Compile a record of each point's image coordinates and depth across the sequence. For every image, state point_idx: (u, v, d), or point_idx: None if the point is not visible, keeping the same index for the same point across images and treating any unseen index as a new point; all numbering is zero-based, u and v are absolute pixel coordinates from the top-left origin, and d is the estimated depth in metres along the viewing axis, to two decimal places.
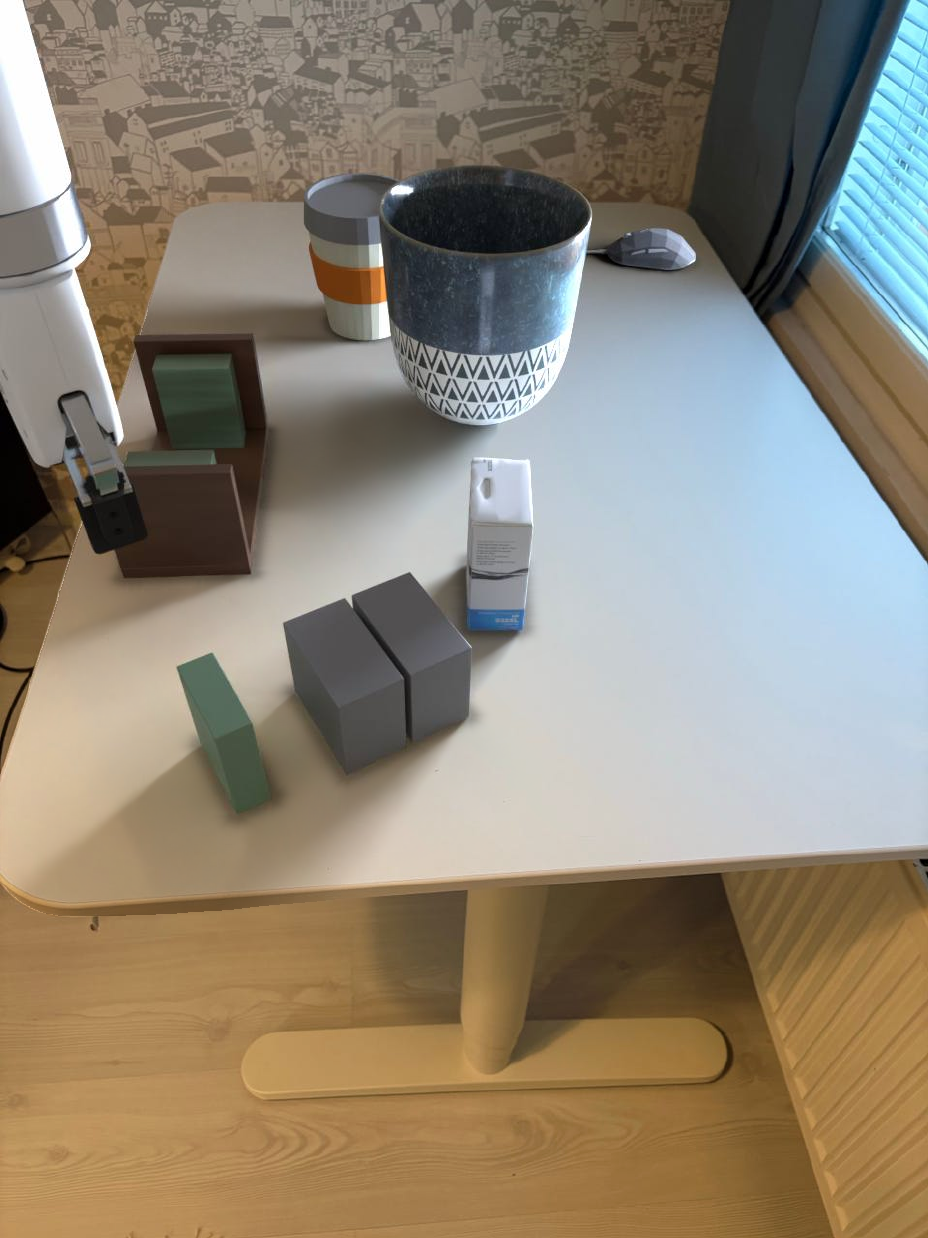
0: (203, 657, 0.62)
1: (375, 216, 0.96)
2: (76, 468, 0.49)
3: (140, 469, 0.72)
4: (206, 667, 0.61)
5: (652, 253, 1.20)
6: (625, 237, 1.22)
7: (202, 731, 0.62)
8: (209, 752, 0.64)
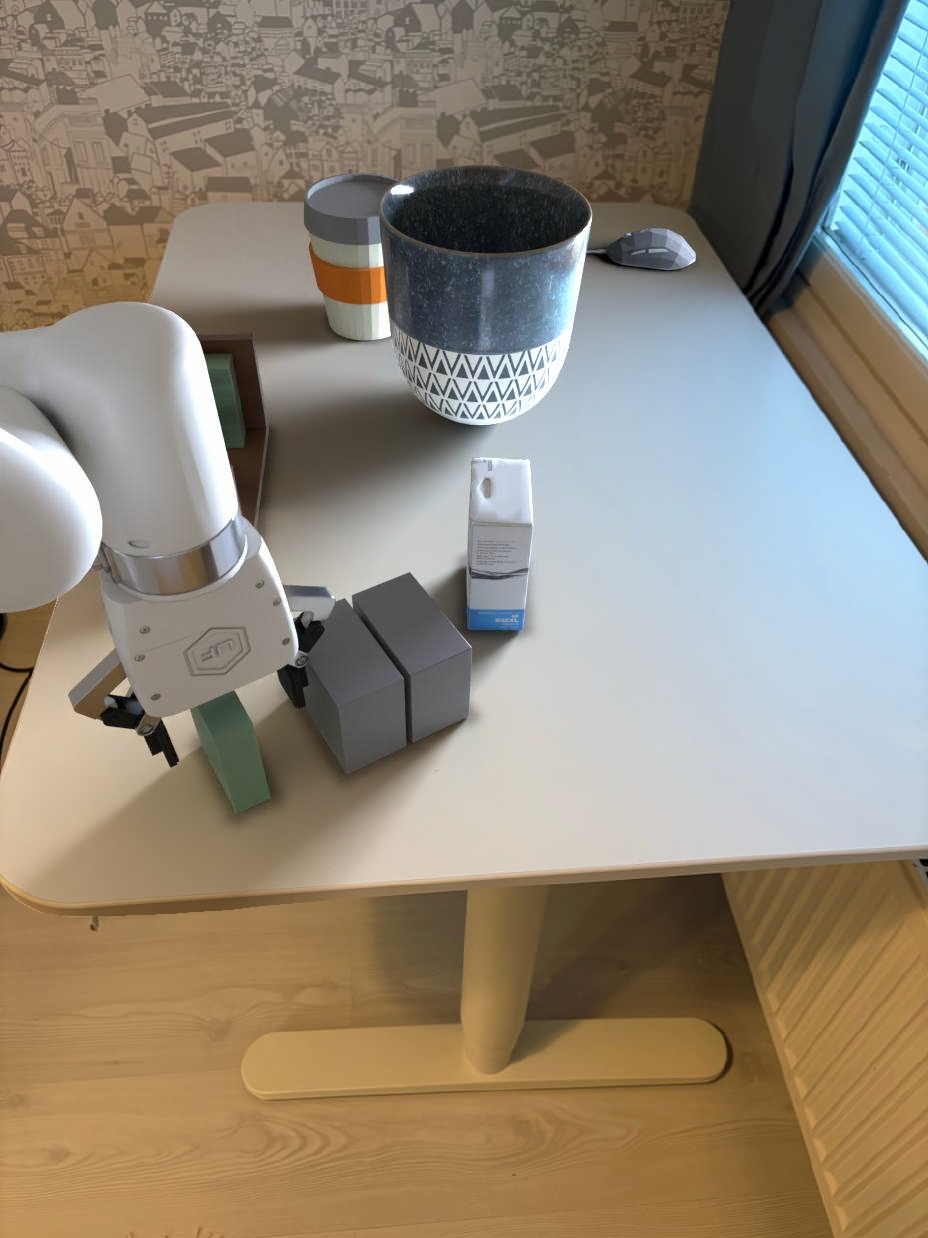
0: None
1: (375, 216, 0.96)
2: None
3: None
4: None
5: (652, 253, 1.20)
6: (625, 237, 1.22)
7: (202, 731, 0.62)
8: (209, 752, 0.64)
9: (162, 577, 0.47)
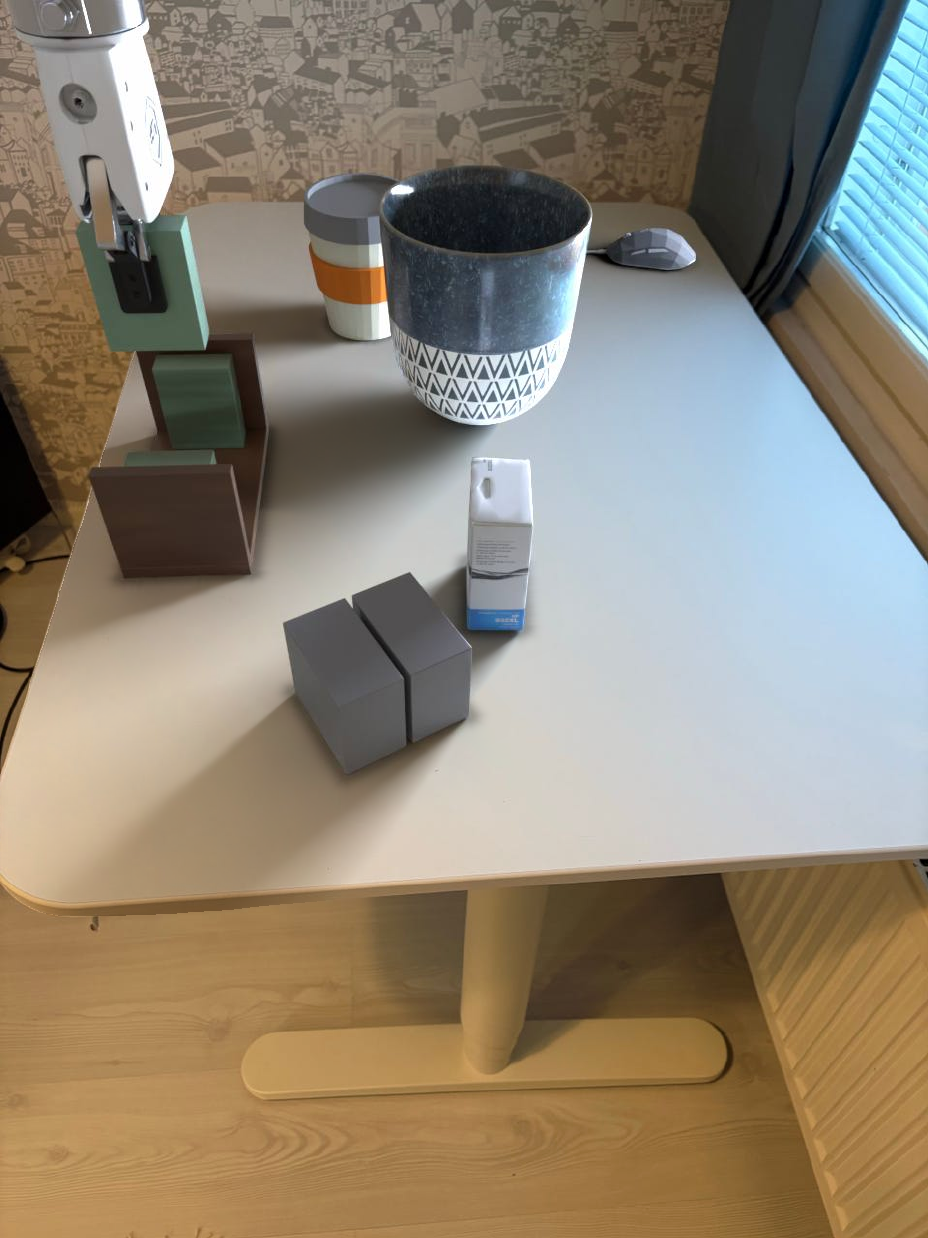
0: None
1: (375, 216, 0.96)
2: None
3: (140, 469, 0.72)
4: None
5: (652, 253, 1.20)
6: (625, 237, 1.22)
7: None
8: (144, 315, 0.66)
9: (128, 1, 0.52)
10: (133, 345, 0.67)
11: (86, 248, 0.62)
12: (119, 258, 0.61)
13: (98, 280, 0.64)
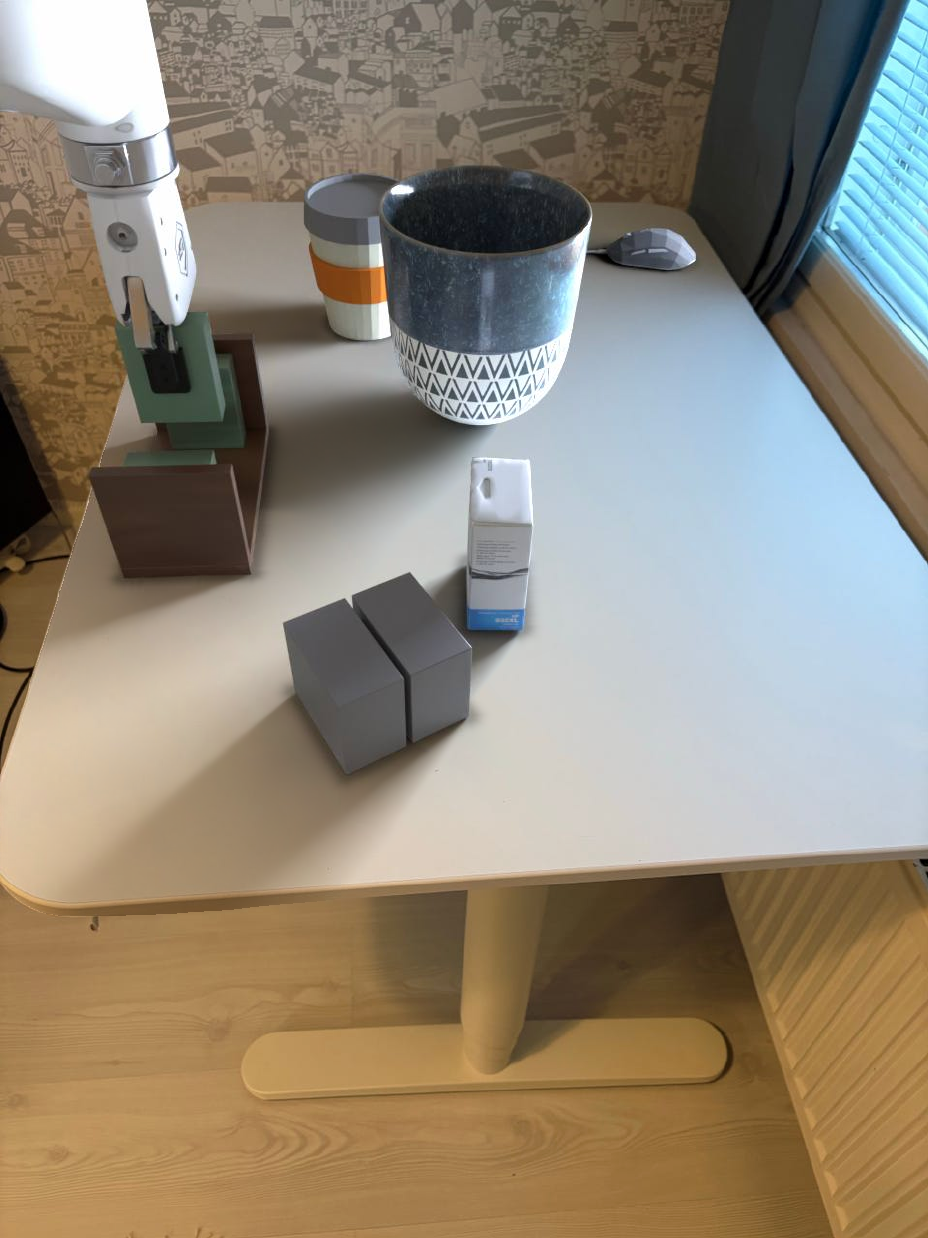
0: None
1: (375, 216, 0.96)
2: None
3: (140, 469, 0.72)
4: None
5: (652, 253, 1.20)
6: (625, 237, 1.22)
7: None
8: (171, 394, 0.77)
9: (163, 154, 0.63)
10: (161, 418, 0.79)
11: (123, 341, 0.73)
12: (152, 352, 0.72)
13: (132, 366, 0.75)
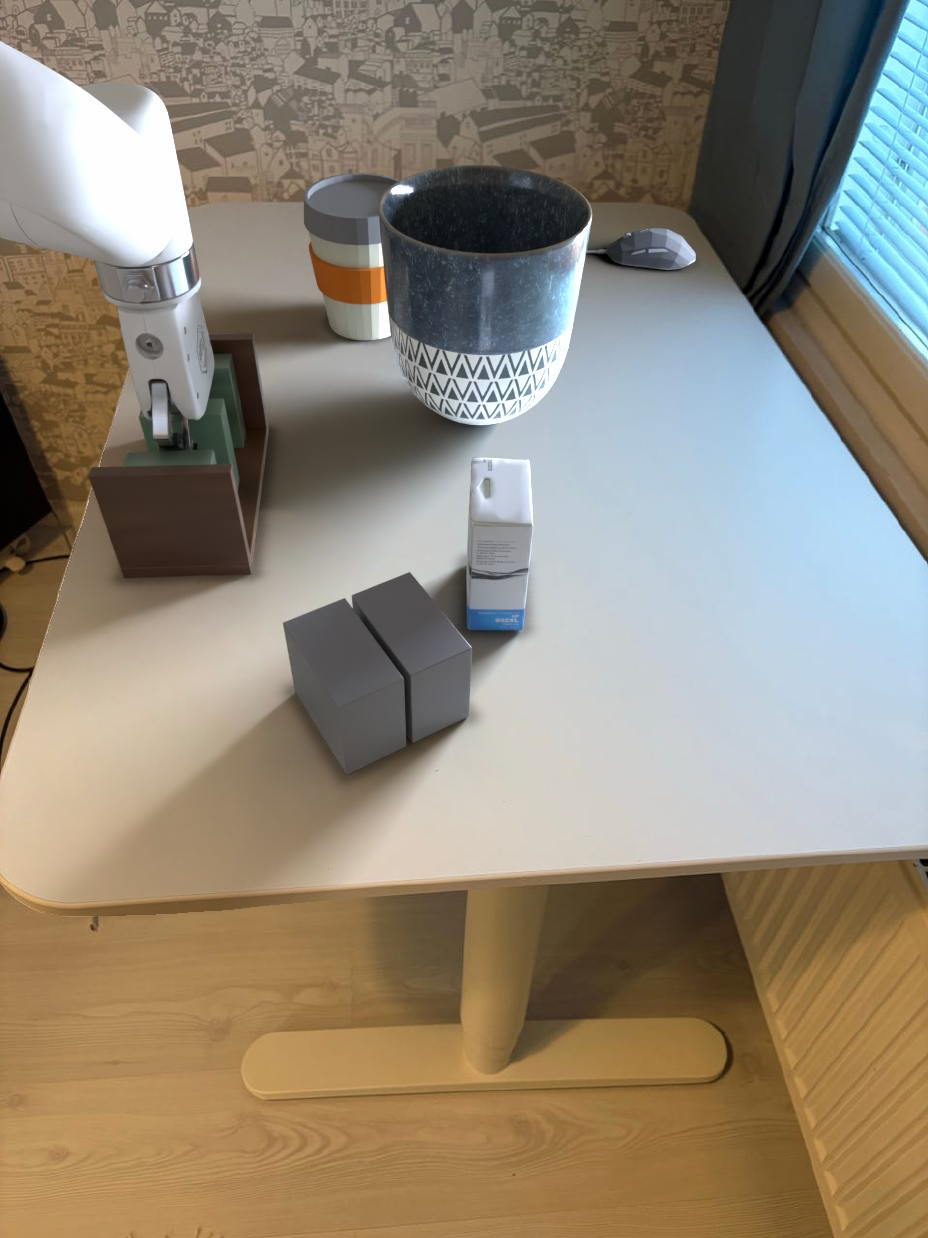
0: None
1: (375, 216, 0.96)
2: None
3: (140, 469, 0.72)
4: None
5: (652, 253, 1.20)
6: (625, 237, 1.22)
7: None
8: None
9: (188, 272, 0.69)
10: None
11: (146, 428, 0.79)
12: (169, 450, 0.76)
13: (154, 449, 0.81)
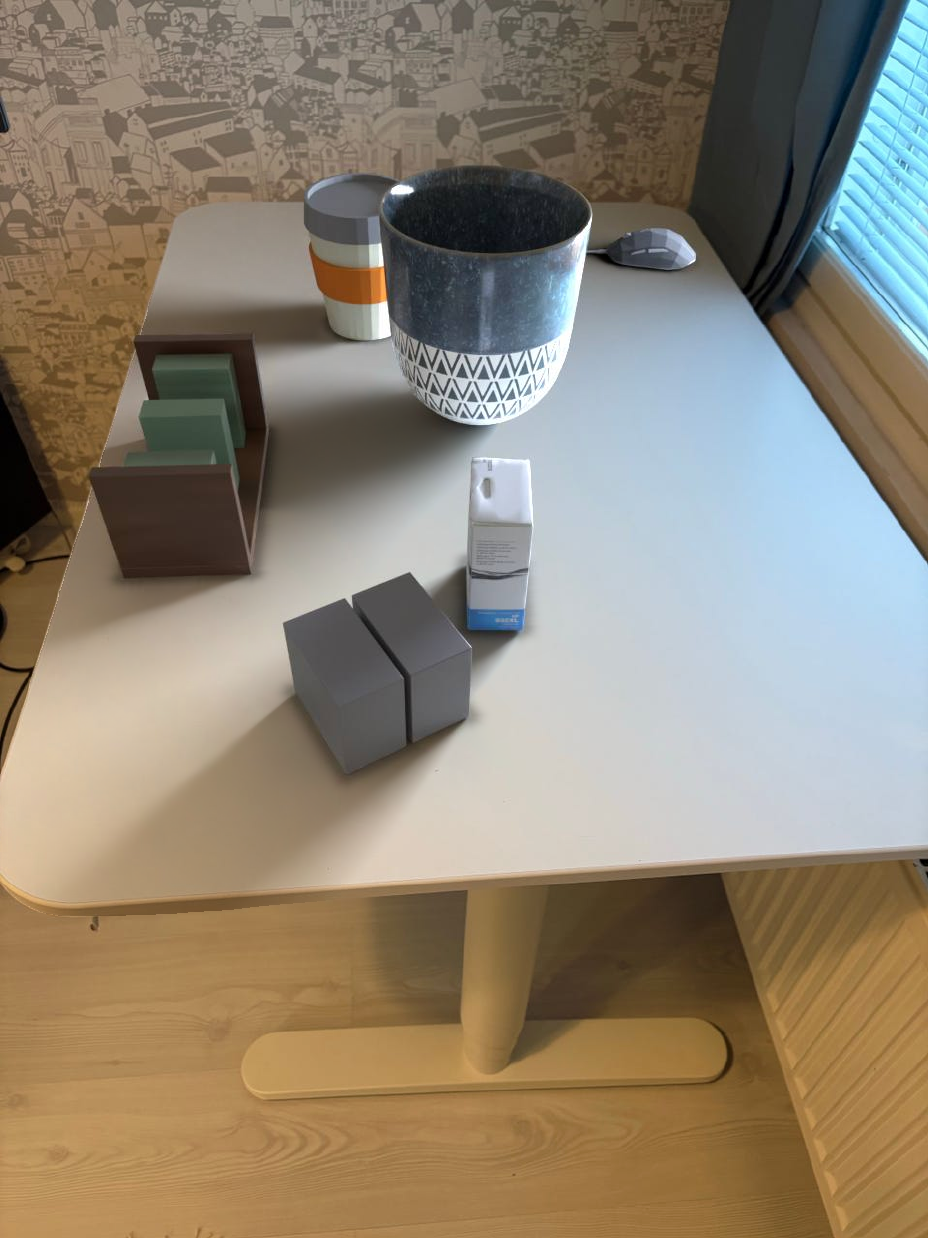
0: (144, 404, 0.80)
1: (375, 216, 0.96)
2: None
3: (140, 469, 0.72)
4: (155, 405, 0.80)
5: (652, 253, 1.20)
6: (625, 237, 1.22)
7: None
8: None
9: None
10: None
11: (146, 428, 0.79)
12: None
13: (154, 449, 0.81)
